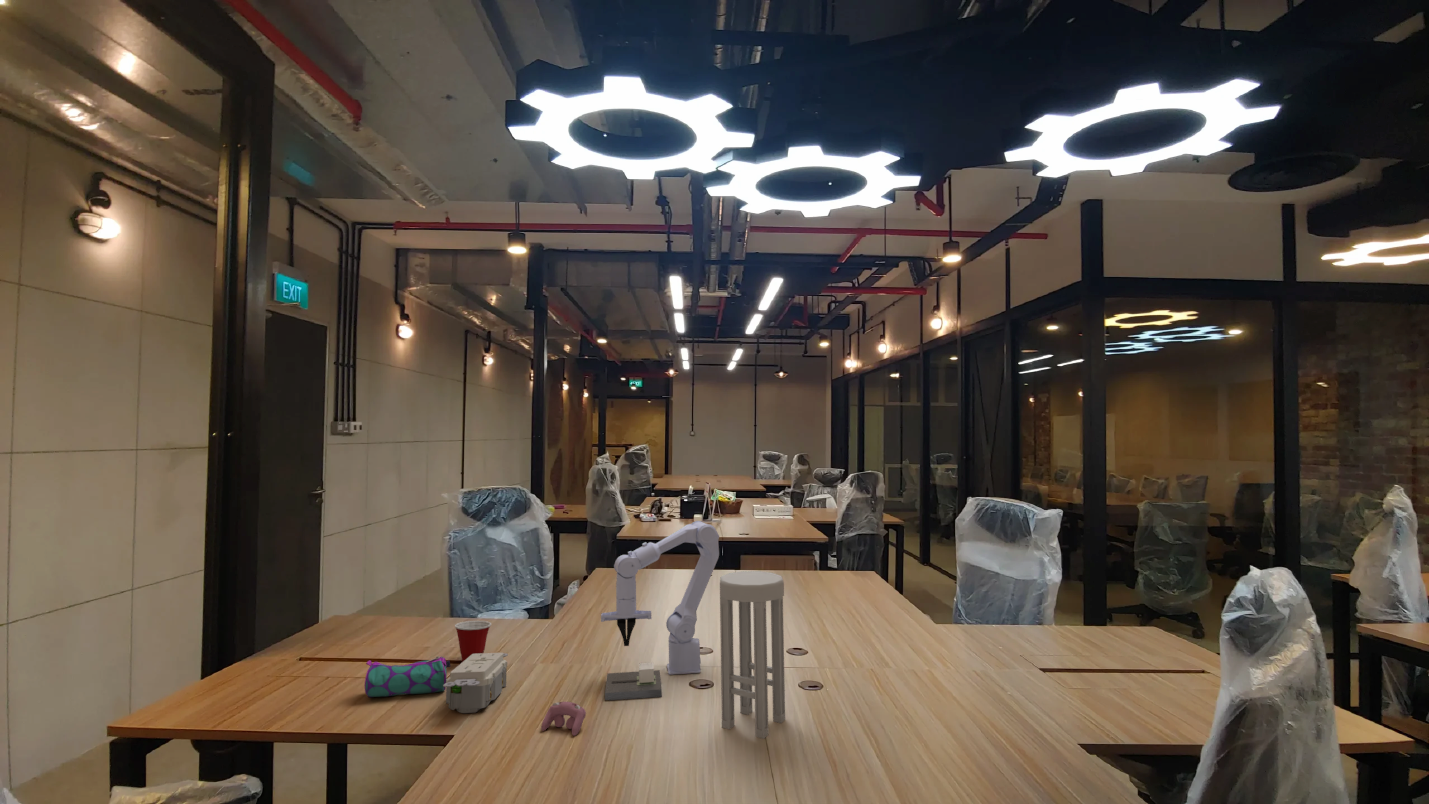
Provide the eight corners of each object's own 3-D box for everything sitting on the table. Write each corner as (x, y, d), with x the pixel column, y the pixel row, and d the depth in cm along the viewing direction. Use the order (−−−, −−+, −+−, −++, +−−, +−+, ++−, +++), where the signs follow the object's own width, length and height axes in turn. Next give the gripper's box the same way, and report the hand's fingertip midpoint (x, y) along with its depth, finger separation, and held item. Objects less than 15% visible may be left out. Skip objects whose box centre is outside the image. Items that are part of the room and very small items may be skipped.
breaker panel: (659, 677, 183) (659, 669, 183) (661, 696, 169) (661, 688, 170) (607, 680, 181) (607, 672, 182) (605, 700, 168) (605, 692, 168)
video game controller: (583, 736, 151) (590, 704, 154) (574, 735, 147) (581, 702, 150) (547, 731, 154) (555, 699, 157) (538, 730, 150) (545, 698, 154)
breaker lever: (653, 674, 179) (653, 662, 179) (653, 681, 174) (653, 668, 174) (639, 675, 178) (639, 663, 178) (639, 682, 173) (639, 669, 173)
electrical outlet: (434, 721, 155) (435, 679, 156) (472, 684, 183) (473, 648, 185) (482, 719, 156) (483, 677, 157) (513, 682, 184) (514, 647, 185)
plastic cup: (498, 659, 200) (498, 621, 200) (469, 670, 190) (469, 630, 191) (476, 653, 205) (476, 616, 206) (446, 664, 196) (447, 624, 197)
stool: (767, 744, 143) (764, 587, 144) (709, 728, 151) (707, 580, 153) (796, 718, 156) (793, 574, 158) (741, 704, 164) (739, 568, 166)
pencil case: (450, 683, 181) (450, 649, 182) (445, 695, 173) (445, 659, 173) (370, 691, 176) (370, 656, 176) (361, 704, 167) (361, 667, 168)
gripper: (650, 592, 189) (651, 638, 188) (601, 595, 187) (601, 641, 187) (651, 598, 182) (651, 646, 181) (600, 601, 180) (600, 649, 180)
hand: (626, 644), depth 184 cm, fingers closed
